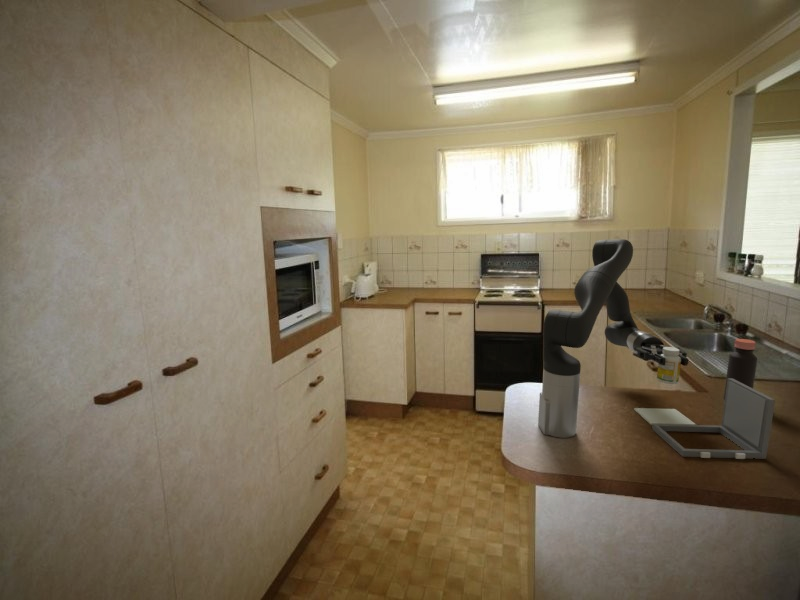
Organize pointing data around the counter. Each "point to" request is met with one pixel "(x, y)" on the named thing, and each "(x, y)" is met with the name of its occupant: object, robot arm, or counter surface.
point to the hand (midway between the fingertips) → (675, 362)
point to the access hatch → (732, 425)
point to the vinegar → (742, 363)
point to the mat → (663, 416)
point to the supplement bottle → (669, 366)
